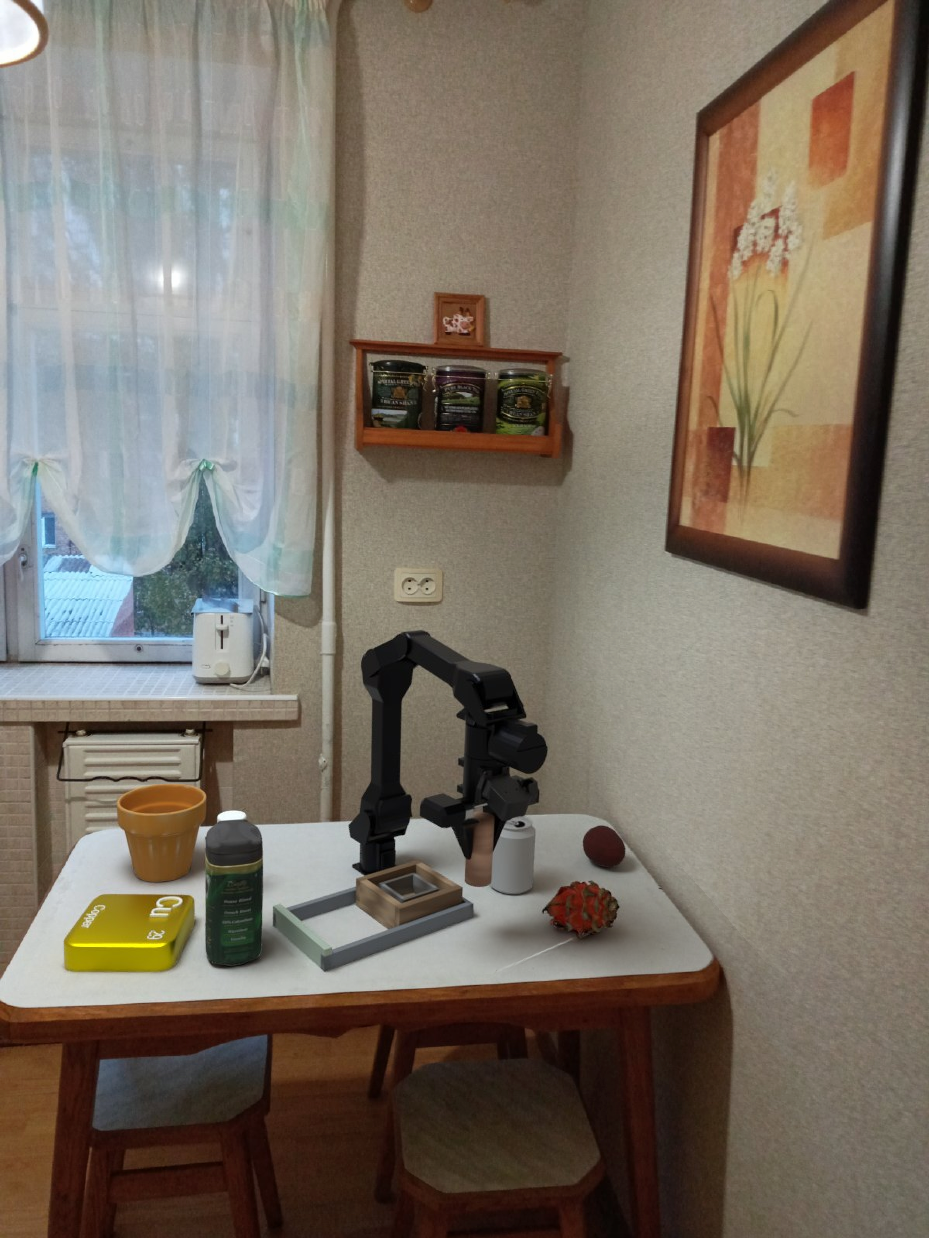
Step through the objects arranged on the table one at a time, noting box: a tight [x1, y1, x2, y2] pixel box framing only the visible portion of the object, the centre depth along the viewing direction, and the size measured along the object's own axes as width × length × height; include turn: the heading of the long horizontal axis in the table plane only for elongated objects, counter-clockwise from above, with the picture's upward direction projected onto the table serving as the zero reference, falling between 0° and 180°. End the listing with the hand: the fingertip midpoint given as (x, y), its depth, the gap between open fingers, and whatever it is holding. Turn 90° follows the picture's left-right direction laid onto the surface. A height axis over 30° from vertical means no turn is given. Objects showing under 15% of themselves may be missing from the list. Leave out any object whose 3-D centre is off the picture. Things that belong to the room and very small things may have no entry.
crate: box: [355, 859, 464, 930], centre depth 140 cm, size 12×12×4 cm
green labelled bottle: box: [204, 819, 264, 967], centre depth 126 cm, size 10×8×19 cm
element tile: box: [63, 893, 196, 973], centre depth 128 cm, size 15×15×5 cm
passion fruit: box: [582, 824, 626, 868], centre depth 160 cm, size 7×8×7 cm
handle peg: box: [464, 811, 494, 888], centre depth 132 cm, size 4×4×10 cm
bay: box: [272, 886, 475, 972], centre depth 136 cm, size 15×27×4 cm, turn 129°
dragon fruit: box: [541, 880, 621, 939], centre depth 136 cm, size 8×8×12 cm
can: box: [489, 815, 537, 895], centre depth 149 cm, size 8×8×12 cm
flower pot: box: [116, 783, 207, 883], centre depth 150 cm, size 14×14×13 cm
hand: (478, 855), depth 132 cm, fingers closed on handle peg, 4 cm apart
